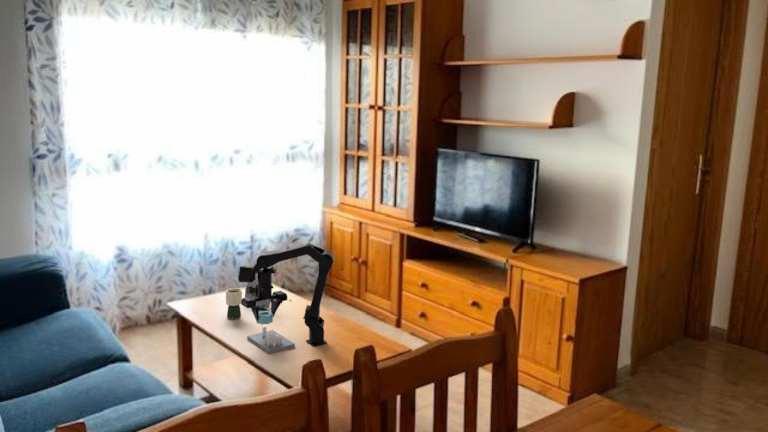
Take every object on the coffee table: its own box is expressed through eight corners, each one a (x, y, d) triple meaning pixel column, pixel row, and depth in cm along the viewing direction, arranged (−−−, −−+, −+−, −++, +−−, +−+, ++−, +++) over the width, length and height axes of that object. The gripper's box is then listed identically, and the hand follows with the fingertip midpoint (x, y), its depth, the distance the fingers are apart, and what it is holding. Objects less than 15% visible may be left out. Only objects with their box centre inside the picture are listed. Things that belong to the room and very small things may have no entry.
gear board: (294, 347, 266) (294, 333, 265) (268, 353, 258) (268, 339, 257) (272, 333, 279) (272, 320, 278) (247, 339, 272) (247, 325, 271)
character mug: (246, 319, 293) (246, 292, 291) (231, 322, 289) (231, 295, 287) (236, 312, 302) (236, 285, 299) (222, 315, 298) (221, 288, 295)
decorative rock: (243, 303, 315) (243, 273, 312) (255, 300, 319) (255, 271, 316) (260, 313, 303) (260, 282, 300) (272, 310, 307) (272, 280, 304)
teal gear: (275, 322, 269) (275, 314, 268) (261, 325, 265) (261, 317, 264) (267, 317, 274) (267, 309, 273) (253, 320, 270) (253, 312, 269)
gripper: (274, 274, 278) (274, 309, 281) (234, 281, 266) (235, 317, 269) (288, 281, 269) (287, 316, 272) (247, 288, 258) (247, 325, 261)
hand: (264, 318), depth 269 cm, fingers closed on teal gear, 7 cm apart
